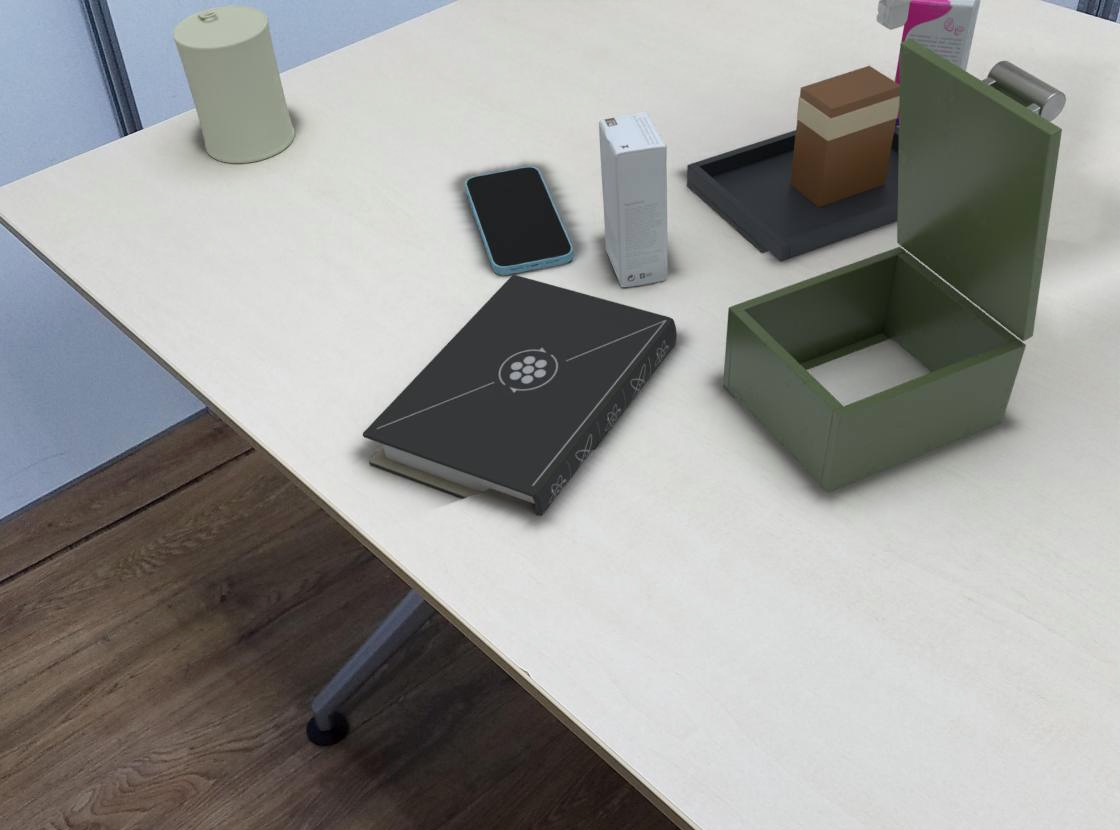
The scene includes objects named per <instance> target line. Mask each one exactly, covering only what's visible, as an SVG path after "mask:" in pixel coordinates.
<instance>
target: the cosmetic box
mask: <svg viewBox="0 0 1120 830" xmlns="http://www.w3.org/2000/svg"><path fill="white" fill-rule="evenodd" d="M598 132H599V133H598V135H599V137H598V138H599V152H600V155H599V156H600V171H601V186H602V203H603V204H602V205H603V217H604V218H603V222H604V238H605V251H606V254H607V256H608V259H609V261H610V263H611V266H612V269H613V271H614V273H615V275H616V278H617V280H618V282H619V285H620V287H622V288H630V287H639V286H645V285H650V284H655V283H661V282H665V281H667V279H668V275H669V269H668V268H669V266H668V265H669V263H668V261H669V259H668V257H669V256H668V252H669V251H668V170H667V167H668V166H667V159H668V158H667V152H668V150H667V149H668V146H667V144H666V143H665V141H664V139H663V137H662V135H661V134H660V133H659V131H658V129H657V127H656V125H655V123H654V122H653V120H652V118H651V117H650V115H649V113H648V112H647V111H643V112H636V113H630V114H626V115H621V116H615V117H611V118H604V119H601V120H599V121H598Z"/></svg>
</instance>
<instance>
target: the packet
mask: <svg viewBox="0 0 1120 830" xmlns="http://www.w3.org/2000/svg"><path fill="white" fill-rule="evenodd" d="M899 95H900V85H899V84H898V83H896V82H895V80H893V79H892V78H890V77H888V76H887V75H885V74H883V73H882V72H880V71H879V70H877V69H876V68H874V67H873V66H871V65H867V66H864V67H860V68H857V69H854V70H851V71H848V72H845V73H842V74H839V75H836V76H832V77H830V78H826V79H822V80H819V81H817V82H814V83H810V84H807V85H804V86H802V87H800V91H799V96H798V102H797V103H798V104H797V112H796V127H795V128H796V129H795V130H796V136H795V145H794V154H793V163H792V172H791V181H790V185H791V186H792V187H793V188H795V189H796V190H797V191H799V192H800V193H801V194H802V195H804V196H805V197H806V198H807V199H809V200H810V201H811V202H813V203H814V204H815V205H816V206H818V207H822V206H825V205H828V204H831V203H834V202H836V201H839V200H842V199H845V198H848V197H851V196H854V195H857V194H859V193H862V192H865V191H868V190H871V189H874V188H877V187H879V186H882V185H885V180H886V174H887V168H888V163H889V157H890V151H891V146H892V140H893V134H894V129H895V126H896V124H895V123H896V118H897V115H898V110H899Z"/></svg>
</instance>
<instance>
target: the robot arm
mask: <svg viewBox="0 0 1120 830" xmlns="http://www.w3.org/2000/svg"><path fill="white" fill-rule="evenodd" d="M911 1H912V0H878V4H877V14H876V22H877V23H878V24H880V25H881V26H883V27H885V28H886V29H888V30H890V31H892V30H895V29H898V28H899V29H900V28H902V27H904V24H905V23H906V21H907V17H908V11H909V5H910V2H911Z"/></svg>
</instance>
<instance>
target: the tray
mask: <svg viewBox="0 0 1120 830" xmlns="http://www.w3.org/2000/svg"><path fill="white" fill-rule="evenodd" d="M795 136H796V129H795V130H791V131H788V132H785V133H782V134H780V135H776V136H773V137H769V138H766V139H764V140H761V141H757V142H755V143H754V142H753V143H751V144H748V145H745V146H741V147H738V148H735V149H732V150H729V151H725V152H723V153H720V154H717V155H714V156H710V157H708V158H705V159H704V158H703V159H701V160H697V161H695V162H692V163H689V164H687V167H686V168H687V169H686V187H688V188H689V189H690V191H692V192H693V193H694V194H696V195H697V196H698V197H699V198H700V199H701V200H702V201H703V202H704V203H706V205H708V206H709V207H710V208H711V209H712V210H713V211H714V212H715V213H716V214H718V215H719V216H720V217H721V218H722V219H723V220H724V221H726V223H728V224H729V225H730V226H731V227H732V228H734V230H736V231H737V232H738V234H740V235H742V237H743V238H745V239H746V240H747V241H748V242H749V243H750V244H751V245H752V246H753V247H755V248H756V249H757V250H758V251H759V252H760V253H762V254H765V253H768V252H769V253H770V254H771V255H773V257H775V258H776V259H777V260H778V261H779V262H783V261H786V260H789V259H792V258H795V257H798V256H801V255H804V254H807V253H809V252H813V251H815V250H818V249H821V248H824V247H826V246H831V245H832V244H835V243H838V242H841V241H844V240H847V239H850V238H853V237H855V236H856V237H857V236H858V235H861V234H864V233H867V232H870V231H873V230H876V229H878V228H881V227H884V226H887V225H890V224H892V223H895V222H896V223H897V215H898V155H899V126H896V125H895V129H894V134H893V140H892V146H891V151H890V157H889V163H888V168H887V174H886V180H885V185H882V186H879V187H877V188H874V189H871V190H868V191H865V192H862V193H859V194H857V195H854V196H851V197H848V198H845V199H842V200H839V201H836V202H834V203H831V204H828V205H825V206H822V207H818V206H816V205H815V204H814V203H813V202H811V201H810V200H809V199H807V198H806V197H805V196H804V195H802V194H801V193H800V192H799V191H797V190H796V189H795V188H793V187H792V186H791V185H790V181H791V172H792V163H793V154H794V145H795Z"/></svg>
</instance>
